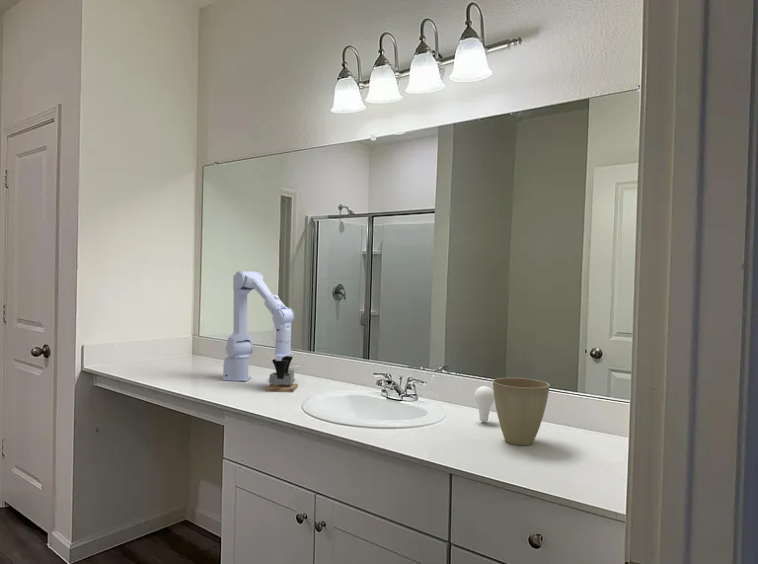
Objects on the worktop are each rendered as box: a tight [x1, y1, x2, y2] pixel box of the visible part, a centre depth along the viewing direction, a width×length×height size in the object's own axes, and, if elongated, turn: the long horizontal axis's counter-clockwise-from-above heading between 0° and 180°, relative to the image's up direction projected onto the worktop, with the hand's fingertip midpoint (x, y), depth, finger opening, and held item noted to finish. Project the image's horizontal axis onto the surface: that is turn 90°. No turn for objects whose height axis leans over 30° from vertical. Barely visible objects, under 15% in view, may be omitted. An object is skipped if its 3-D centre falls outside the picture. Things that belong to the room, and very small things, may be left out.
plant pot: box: [492, 377, 550, 446], centre depth 150 cm, size 15×15×16 cm
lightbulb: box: [473, 385, 495, 424], centre depth 169 cm, size 6×6×11 cm
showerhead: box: [288, 362, 300, 374], centre depth 224 cm, size 9×7×10 cm
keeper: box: [265, 382, 299, 393], centre depth 209 cm, size 10×10×5 cm
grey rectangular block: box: [268, 371, 295, 385], centre depth 209 cm, size 8×6×3 cm
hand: (282, 377), depth 209 cm, fingers closed on grey rectangular block, 5 cm apart
